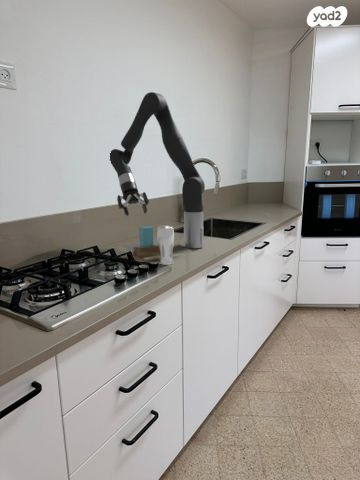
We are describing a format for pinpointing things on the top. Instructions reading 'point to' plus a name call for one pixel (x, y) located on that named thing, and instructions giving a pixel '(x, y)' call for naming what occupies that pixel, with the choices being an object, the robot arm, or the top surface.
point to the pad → (131, 246)
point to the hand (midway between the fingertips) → (136, 213)
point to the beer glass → (165, 244)
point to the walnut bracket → (146, 253)
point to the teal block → (146, 236)
